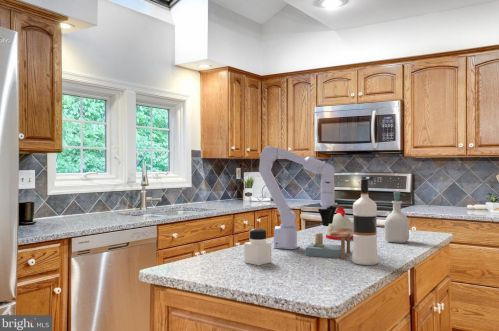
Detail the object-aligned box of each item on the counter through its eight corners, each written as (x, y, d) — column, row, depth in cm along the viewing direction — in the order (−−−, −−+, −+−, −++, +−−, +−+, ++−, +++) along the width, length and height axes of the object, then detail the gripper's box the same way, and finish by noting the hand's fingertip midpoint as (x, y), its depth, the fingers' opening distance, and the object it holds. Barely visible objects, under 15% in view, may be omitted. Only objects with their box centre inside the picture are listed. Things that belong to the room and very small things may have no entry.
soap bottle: (406, 244, 190) (405, 192, 190) (383, 242, 195) (383, 191, 195) (409, 240, 198) (409, 191, 198) (388, 239, 203) (388, 190, 203)
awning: (330, 258, 162) (330, 233, 162) (337, 251, 175) (337, 227, 175) (346, 259, 159) (346, 233, 159) (352, 252, 172) (352, 228, 172)
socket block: (305, 255, 167) (305, 247, 167) (312, 250, 177) (312, 243, 177) (339, 257, 162) (339, 250, 162) (344, 252, 172) (344, 245, 172)
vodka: (349, 260, 159) (348, 178, 159) (374, 260, 159) (374, 178, 159) (355, 266, 149) (354, 179, 149) (381, 265, 149) (381, 179, 149)
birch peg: (314, 254, 169) (314, 233, 169) (315, 252, 172) (315, 232, 172) (322, 254, 168) (322, 234, 168) (323, 253, 171) (323, 233, 171)
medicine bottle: (271, 262, 156) (271, 229, 156) (258, 265, 150) (258, 231, 150) (257, 259, 161) (257, 227, 161) (243, 262, 155) (243, 229, 155)
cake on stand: (333, 240, 200) (332, 208, 200) (321, 236, 213) (321, 205, 213) (360, 239, 203) (360, 207, 203) (347, 234, 216) (347, 205, 216)
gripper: (333, 193, 173) (333, 227, 173) (340, 191, 186) (340, 223, 186) (316, 193, 176) (316, 226, 176) (324, 191, 189) (324, 222, 189)
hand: (327, 224), depth 181 cm, fingers open, 7 cm apart
